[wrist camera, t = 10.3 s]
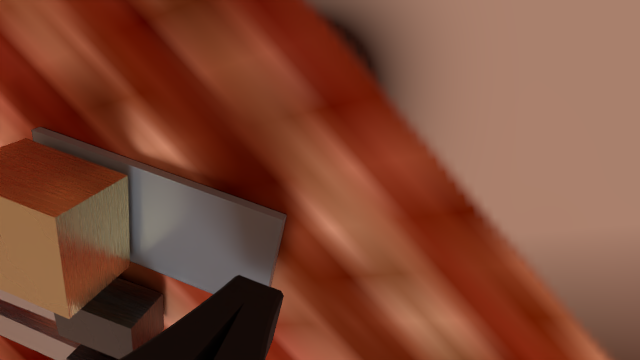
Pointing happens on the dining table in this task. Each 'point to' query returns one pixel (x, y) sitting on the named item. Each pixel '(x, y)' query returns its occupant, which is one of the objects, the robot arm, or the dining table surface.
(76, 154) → the plate
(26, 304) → the tong arm
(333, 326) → the dining table surface
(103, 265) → the block
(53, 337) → the dark-tipped long bar
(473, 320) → the dining table surface
